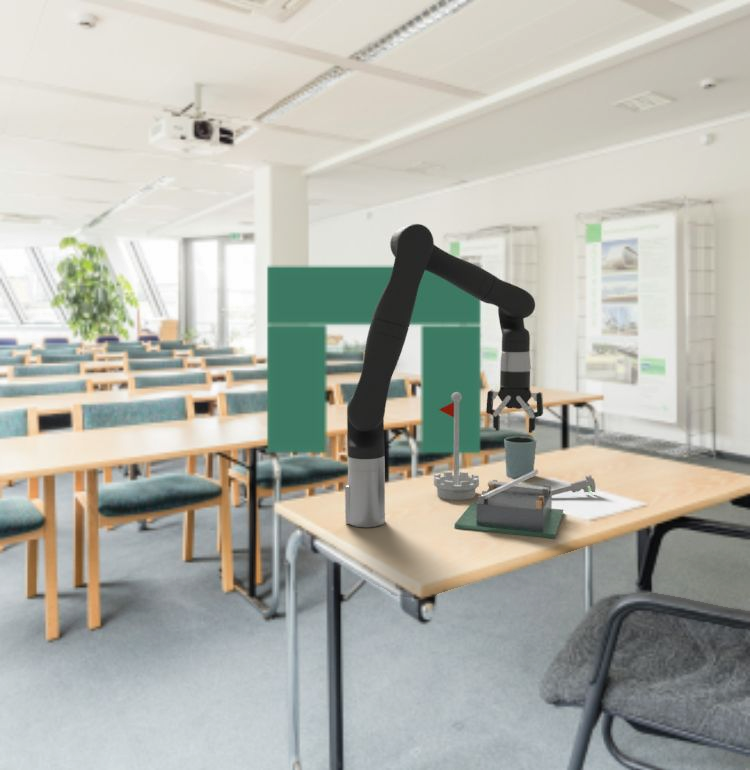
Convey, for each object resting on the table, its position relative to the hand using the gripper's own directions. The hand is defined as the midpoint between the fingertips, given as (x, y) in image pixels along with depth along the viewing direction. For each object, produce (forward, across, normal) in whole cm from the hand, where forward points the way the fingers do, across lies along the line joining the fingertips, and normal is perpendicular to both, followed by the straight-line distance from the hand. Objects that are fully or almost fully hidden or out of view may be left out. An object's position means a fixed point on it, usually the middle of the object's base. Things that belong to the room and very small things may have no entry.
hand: (514, 431), depth 176 cm
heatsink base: (+22, +1, -6) cm, 23 cm away
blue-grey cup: (+22, -4, +41) cm, 47 cm away
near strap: (+12, +1, -12) cm, 17 cm away
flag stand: (+22, -18, +13) cm, 32 cm away
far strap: (+15, +1, 0) cm, 15 cm away
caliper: (+22, +11, +20) cm, 32 cm away
